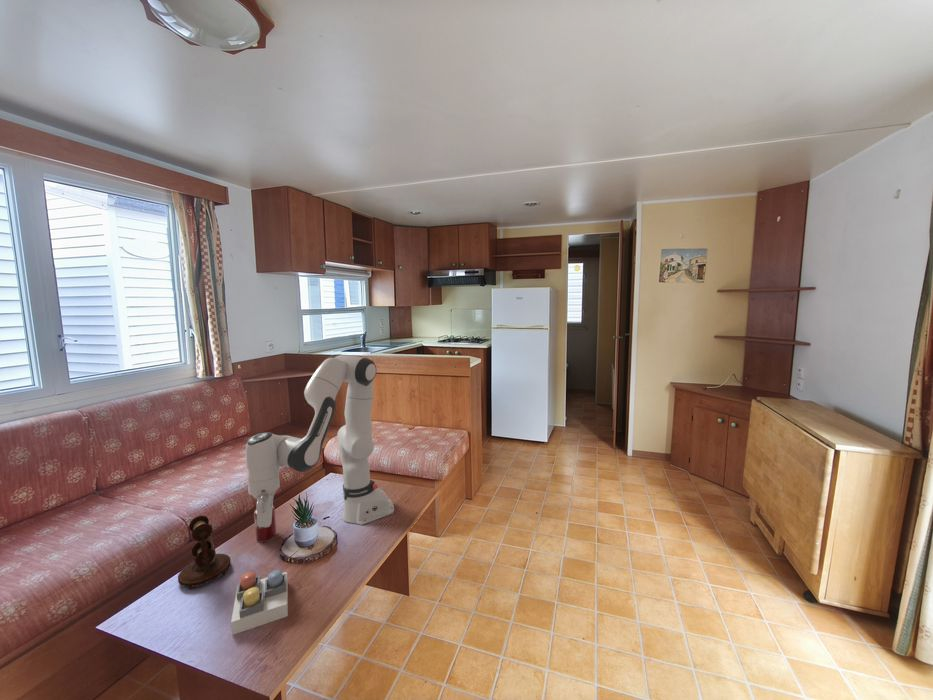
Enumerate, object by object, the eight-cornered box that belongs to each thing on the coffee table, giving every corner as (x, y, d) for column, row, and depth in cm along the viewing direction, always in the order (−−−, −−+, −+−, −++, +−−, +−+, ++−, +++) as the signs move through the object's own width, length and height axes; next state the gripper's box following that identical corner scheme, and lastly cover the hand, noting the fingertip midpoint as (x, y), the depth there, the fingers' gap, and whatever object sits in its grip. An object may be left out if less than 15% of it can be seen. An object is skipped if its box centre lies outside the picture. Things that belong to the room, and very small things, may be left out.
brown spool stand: (235, 574, 127) (229, 520, 124) (181, 598, 117) (174, 539, 114) (226, 554, 137) (221, 503, 135) (176, 574, 127) (169, 520, 125)
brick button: (256, 578, 117) (255, 570, 116) (255, 587, 113) (254, 578, 113) (241, 583, 115) (241, 574, 115) (240, 591, 111) (239, 582, 111)
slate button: (282, 577, 117) (282, 568, 117) (282, 585, 114) (282, 576, 113) (268, 581, 115) (267, 572, 115) (268, 590, 112) (267, 580, 112)
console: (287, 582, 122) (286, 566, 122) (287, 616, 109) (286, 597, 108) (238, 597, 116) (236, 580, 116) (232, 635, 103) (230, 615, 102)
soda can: (268, 543, 143) (265, 514, 142) (251, 541, 145) (249, 513, 143) (280, 532, 150) (278, 505, 149) (265, 530, 152) (263, 503, 150)
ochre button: (260, 594, 110) (259, 585, 110) (259, 604, 107) (258, 594, 106) (244, 599, 108) (244, 590, 108) (243, 609, 105) (242, 599, 104)
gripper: (274, 496, 110) (277, 539, 111) (275, 470, 128) (278, 507, 130) (249, 501, 107) (253, 546, 109) (255, 474, 125) (258, 512, 127)
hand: (267, 524), depth 119 cm, fingers closed
